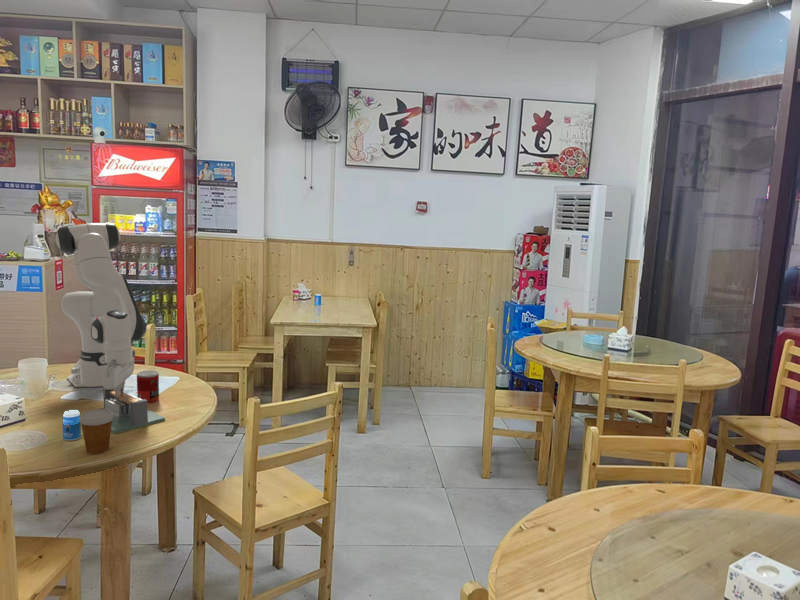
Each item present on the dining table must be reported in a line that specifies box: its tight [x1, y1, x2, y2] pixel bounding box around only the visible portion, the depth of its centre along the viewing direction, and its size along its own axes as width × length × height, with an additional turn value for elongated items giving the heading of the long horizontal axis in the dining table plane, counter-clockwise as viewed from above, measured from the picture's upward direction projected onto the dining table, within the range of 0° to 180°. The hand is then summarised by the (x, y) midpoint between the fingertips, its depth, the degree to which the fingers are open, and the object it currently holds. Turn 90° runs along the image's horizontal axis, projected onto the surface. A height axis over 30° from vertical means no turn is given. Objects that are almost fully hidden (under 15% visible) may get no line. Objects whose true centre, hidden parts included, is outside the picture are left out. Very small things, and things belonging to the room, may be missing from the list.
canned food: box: [136, 370, 160, 404], centre depth 231 cm, size 8×8×11 cm
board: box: [101, 385, 166, 435], centre depth 211 cm, size 24×18×11 cm
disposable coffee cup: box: [78, 408, 114, 455], centre depth 184 cm, size 10×10×12 cm
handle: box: [109, 390, 139, 404], centre depth 210 cm, size 17×3×2 cm, turn 52°
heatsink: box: [105, 393, 142, 423], centre depth 211 cm, size 10×10×6 cm
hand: (119, 394), depth 212 cm, fingers closed, pressing on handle
